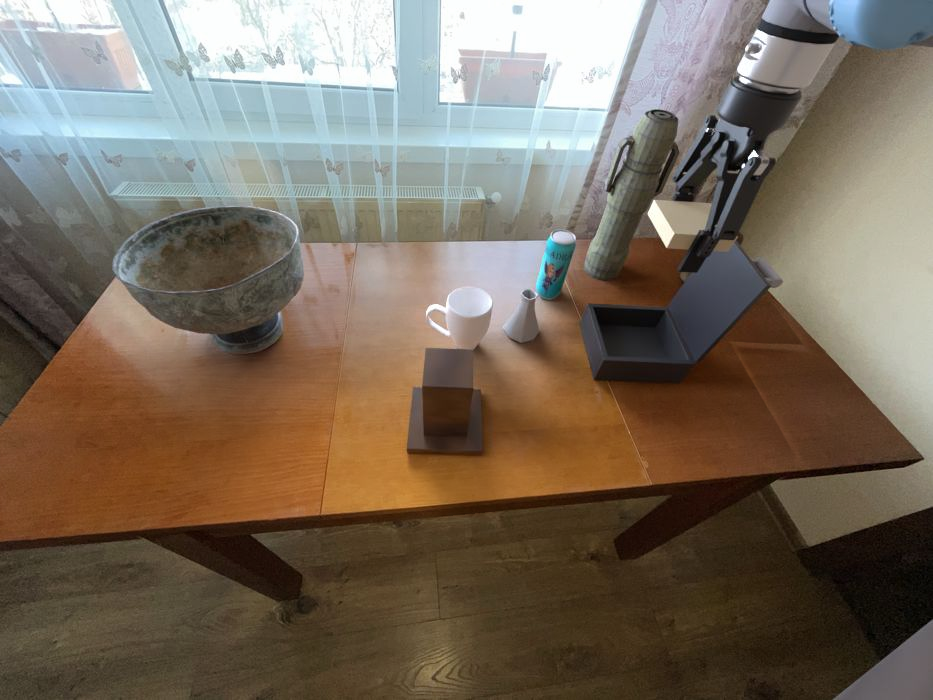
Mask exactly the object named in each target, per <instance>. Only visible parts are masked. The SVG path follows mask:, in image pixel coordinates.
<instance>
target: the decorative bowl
mask: <svg viewBox="0 0 933 700" xmlns="http://www.w3.org/2000/svg"><path fill="white" fill-rule="evenodd" d="M111 267H112V268H111V269H112V271H113V273H114V277H115V278H116V279H117V280H118V281H119V282H121V284H122V285H123V286H124V288H125V289H126V290H127V291H128V293H129V294H130V296H131V297H132V298H133V299H134V300H135V301H136V302H137V303H138V304H139V305H141V306H142V307H143V308H144V309H145V310H147V312H148V313H149V314H150V316H152V317H154V318H155V319H157V320H158V321H160V322H162V323H164V324H166V325H168V326H170V327H173V328H174V329H178V330H181V331H187V332H192V333H196V334H204V335H205V334H206V335H211V336H212V339H213V341H214V343H215V345H216V347H218V348H219V349H220V350H222V351H223V352H226V353H230V354H233V355H246V354H253V353H257V352H260V351H264V350H265V349H267V348H268V347H270V346H272V345H274V344H275V343H276V342H277V341H278V340H279V339H280V338H281V336H283V333H284V321H283V315H282V313H281V311H283V309H284V308H285V307H286V306H288V304H289V303H290V302H291V300H292V299H294V298H295V297H296V296H297V294H298V293H299V291H300V290H301V288H302V285H303V282H304V278H305V269H304V260H303V257H302V249H301V241H300V231H299V228H298V226H297V224H296V223H295V221H293V220H292V219H291V218H290V217H288V216H287V215H285V214H282V213H280V212H278V211H274V210H271V209H267V208H263V207H257V206H251V205H217V206H209V207H208V206H207V207H202V208H201V207H200V208H193V209H189V210H186V211H181V212H177V213H174V214H171V215H168V216H166V217H163V218H160V219H157V220H155V221H153V222H151V223H149V224H147V225H146V226H144V227H141V228H140V230H138V231H136V232H134V234H132V235H131V236H129V237H128V238H127V239H126V240H125V241H124V242H123V243H122V244H121V245H120V247H119V248H118V250H117V251H116V253H115V254H114V256H113V259H112V266H111Z"/></svg>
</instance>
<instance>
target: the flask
mask: <svg viewBox="0 0 933 700" xmlns="http://www.w3.org/2000/svg"><path fill="white" fill-rule="evenodd" d="M519 295H520V301H519V303H518V305H517V307H516V308H515V310H514V312H513V313H512V314H511V315H510V317H509V318H508V320H506V322H505V324H503V326H502V329H503V330H504V332H505V334H506V336H507V337H508V338H510V339H512V340H514V341H516V342H518V343H521V344H522V343H526V342H530V341H534V340H535V338H536V337H537V335H538V334H539V332H540V328H539V324H538V320H537V313H536V309H535V308H536V300H537V299H538V297H539V295H538V293H537V290H536V289H532V288H530V287H529V288H524V289H523V290H521V292H520V294H519Z"/></svg>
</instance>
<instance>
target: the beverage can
mask: <svg viewBox="0 0 933 700" xmlns="http://www.w3.org/2000/svg"><path fill="white" fill-rule="evenodd" d="M576 241H577V237H576V235H575V234H574V233H572V232H571V231H570V230H566V229H554V230H553V231H552V232H551V233H550V236H549V237H548V238H547V241H546V245H545V249H544V253H543V256H542V261H541V264H540V268H539V273H538V276H537V280H536V284H535V288H536V289H535V290H536V292H537V294H538V297H540V298H541V299H543V300H547V301H548V300H554V299H555V298H557V297H558V296H559V295H560V294H561V292H562V289H563V286H564V283H565V280H566V278H567V274H568V271H569V268H570V265H571V262H572V260H573V259H572V258H573V255H574V252H575V249H576V246H577V245H576Z"/></svg>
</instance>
